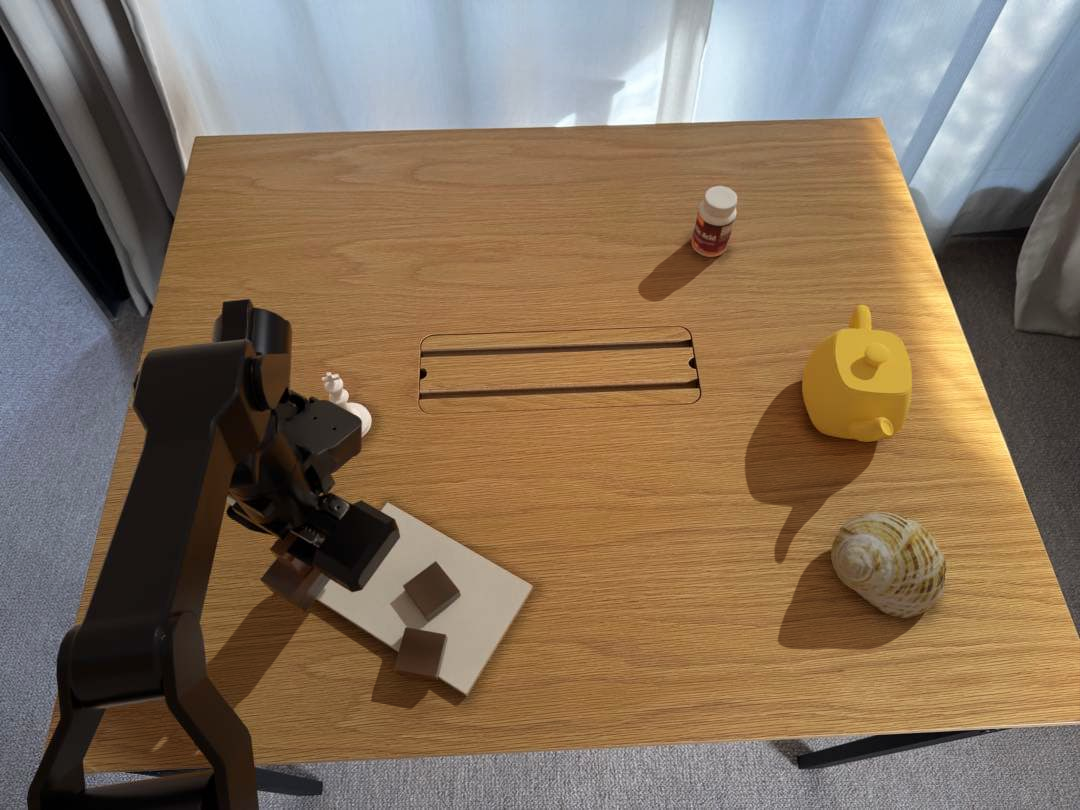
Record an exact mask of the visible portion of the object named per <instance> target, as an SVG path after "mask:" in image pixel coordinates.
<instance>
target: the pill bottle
mask: <svg viewBox="0 0 1080 810" xmlns="http://www.w3.org/2000/svg"><path fill="white" fill-rule="evenodd" d="M702 200H703V201H702V202H701V203H700V205H699V207H698V211H697V215H696V219H695V224H694V229H693V233H692V237H691V246H692V248H693V250H694V251H695V252H696V253H697V254H699V255H700V256H703V257H707V258H714V257H718V256H721V255H723V254H724V253H725V252H726V251H727V248H728V245H729V242H730V238H731V235H732V232H733V228H734V226H735V221H736V218H737V214H738V213H737V203H738V194H737V193H736V192H735V191H734V190H733V189H732V188H730V187H727V186H725V185H724V186H723V185H716V186H712V187H710V188H708V189H707V190H706V191H705V194H704V197H703V199H702Z"/></svg>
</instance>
